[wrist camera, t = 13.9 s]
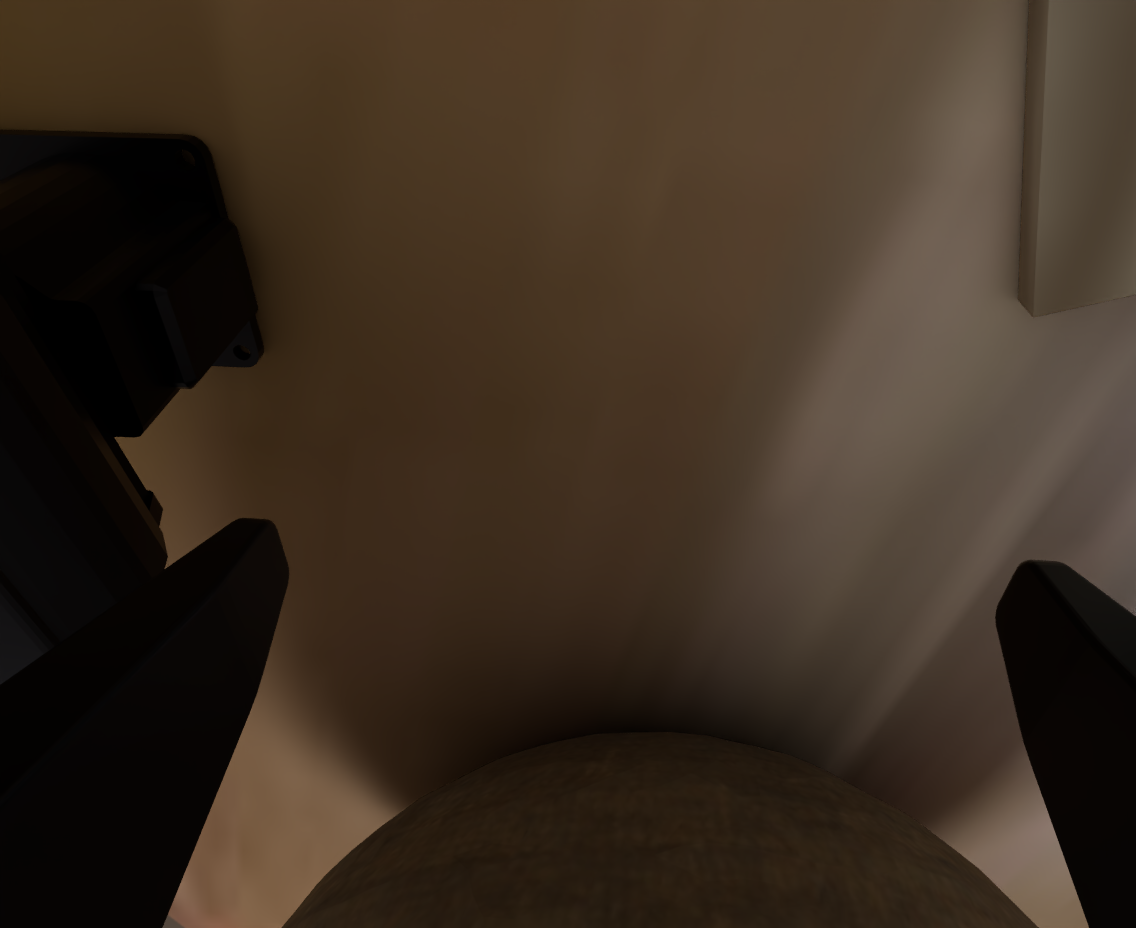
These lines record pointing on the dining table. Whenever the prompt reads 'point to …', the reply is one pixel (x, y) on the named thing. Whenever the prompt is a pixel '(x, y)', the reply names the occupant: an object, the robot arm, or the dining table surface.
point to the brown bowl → (653, 848)
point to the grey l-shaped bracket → (1079, 155)
